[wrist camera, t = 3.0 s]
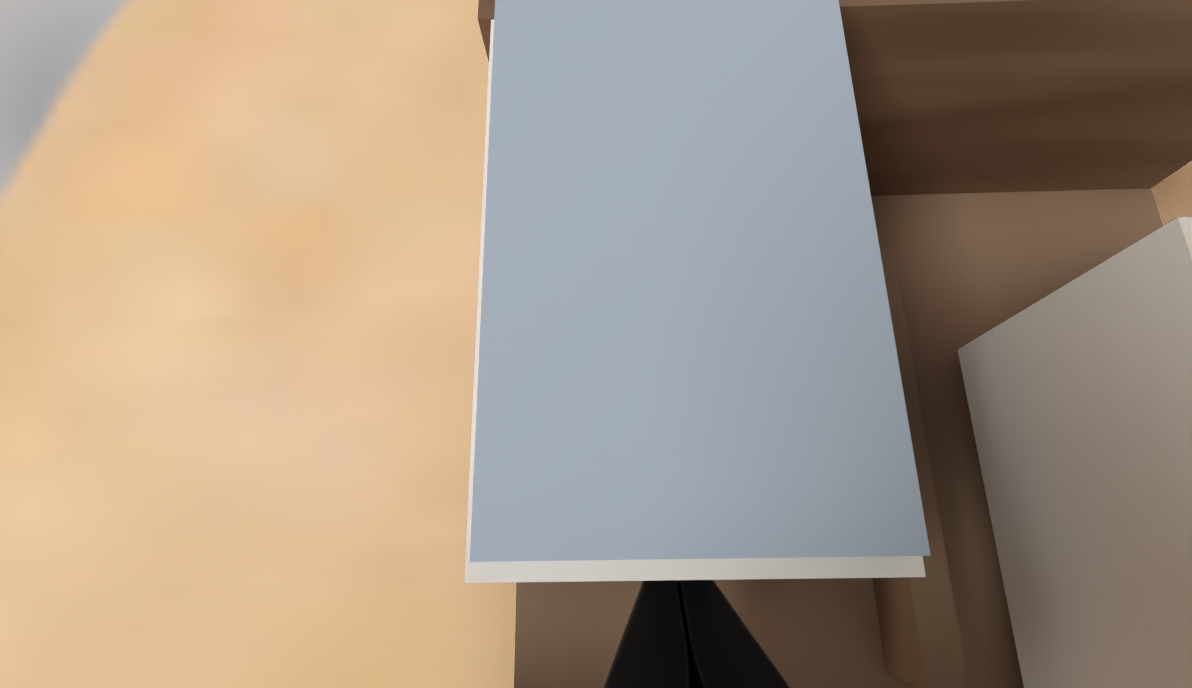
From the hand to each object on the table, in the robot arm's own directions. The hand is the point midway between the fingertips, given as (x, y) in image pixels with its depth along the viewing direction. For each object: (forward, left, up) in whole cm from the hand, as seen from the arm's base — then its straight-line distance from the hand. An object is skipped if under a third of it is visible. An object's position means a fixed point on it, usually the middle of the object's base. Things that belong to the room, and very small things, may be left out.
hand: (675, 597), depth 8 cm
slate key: (+2, -3, -3) cm, 5 cm away
